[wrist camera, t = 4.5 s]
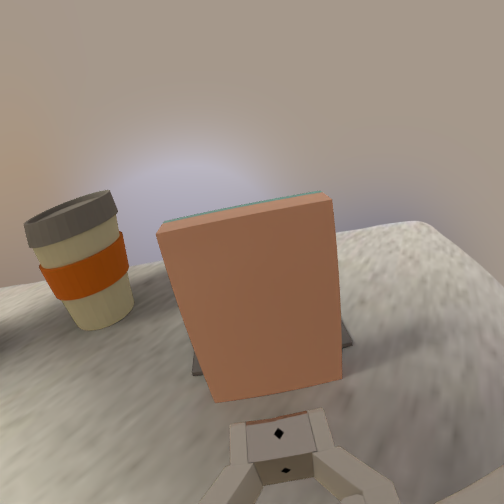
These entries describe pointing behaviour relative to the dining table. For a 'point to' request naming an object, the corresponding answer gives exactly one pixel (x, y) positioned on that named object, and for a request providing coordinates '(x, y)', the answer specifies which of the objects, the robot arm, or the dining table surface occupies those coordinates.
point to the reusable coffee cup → (84, 259)
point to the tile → (259, 293)
